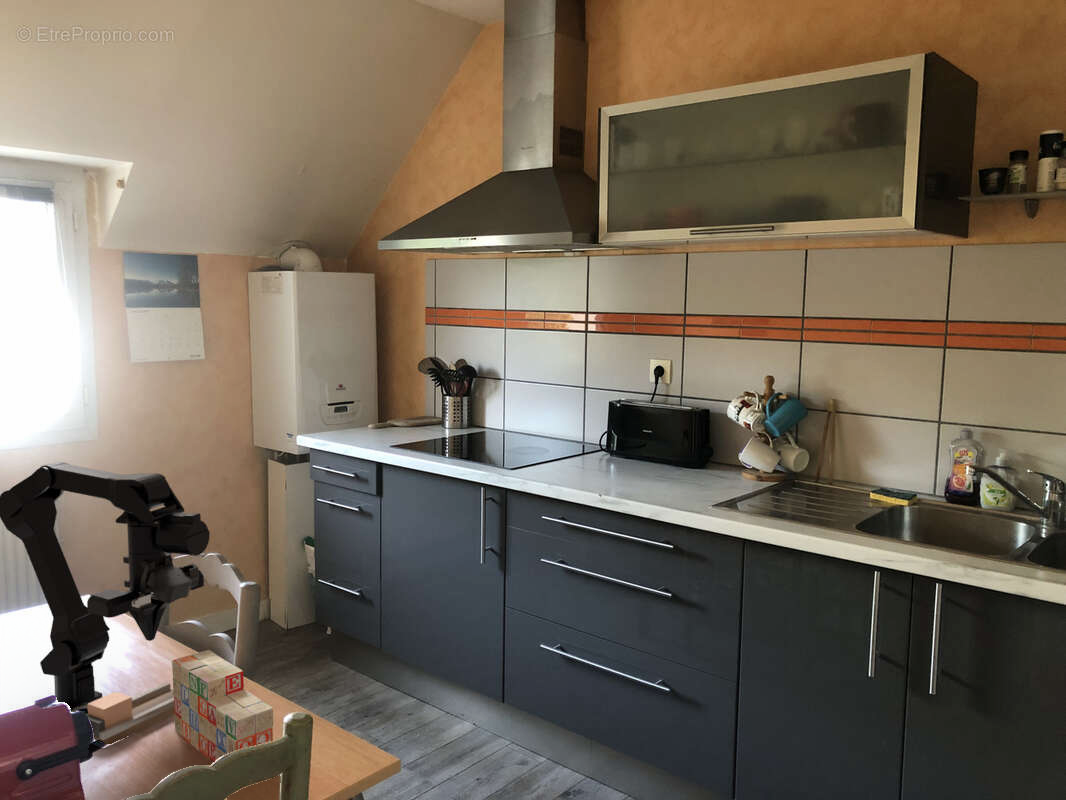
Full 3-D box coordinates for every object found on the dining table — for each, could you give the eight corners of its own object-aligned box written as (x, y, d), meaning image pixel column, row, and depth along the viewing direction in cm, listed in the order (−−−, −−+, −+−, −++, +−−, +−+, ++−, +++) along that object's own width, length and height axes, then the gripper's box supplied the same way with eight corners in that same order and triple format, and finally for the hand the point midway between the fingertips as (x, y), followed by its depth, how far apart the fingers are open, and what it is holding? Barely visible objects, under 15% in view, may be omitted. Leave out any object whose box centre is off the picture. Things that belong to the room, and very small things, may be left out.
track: (75, 738, 136) (74, 714, 136) (166, 695, 151) (166, 674, 151) (103, 749, 133) (103, 724, 133) (194, 704, 148) (193, 682, 148)
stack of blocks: (274, 766, 129) (273, 688, 128) (235, 782, 125) (234, 701, 123) (210, 718, 144) (208, 648, 143) (173, 730, 139) (171, 658, 138)
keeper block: (88, 727, 136) (87, 703, 136) (116, 714, 141) (115, 691, 140) (104, 733, 135) (103, 709, 134) (132, 720, 139) (131, 697, 139)
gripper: (129, 572, 130) (132, 670, 132) (225, 543, 146) (227, 630, 148) (83, 561, 135) (87, 655, 137) (181, 534, 152) (183, 619, 153)
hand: (150, 639), depth 144 cm, fingers closed
